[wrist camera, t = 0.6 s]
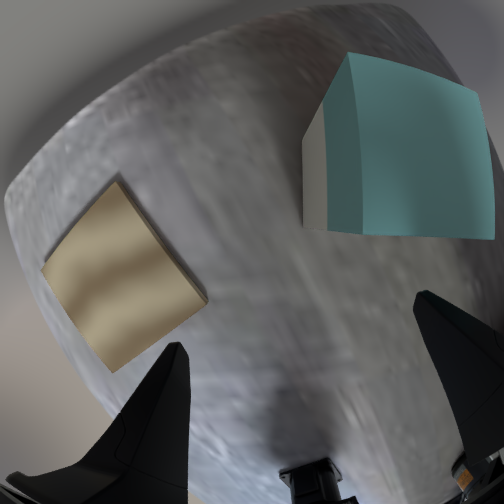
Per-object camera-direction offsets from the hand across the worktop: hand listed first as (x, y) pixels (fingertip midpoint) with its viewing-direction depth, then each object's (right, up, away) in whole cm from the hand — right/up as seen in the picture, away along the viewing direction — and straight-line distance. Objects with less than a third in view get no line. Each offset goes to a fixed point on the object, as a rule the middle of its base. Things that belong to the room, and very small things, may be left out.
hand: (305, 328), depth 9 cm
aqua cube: (+6, +8, +5) cm, 11 cm away
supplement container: (+39, -35, +16) cm, 55 cm away
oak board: (-15, 0, +13) cm, 20 cm away
